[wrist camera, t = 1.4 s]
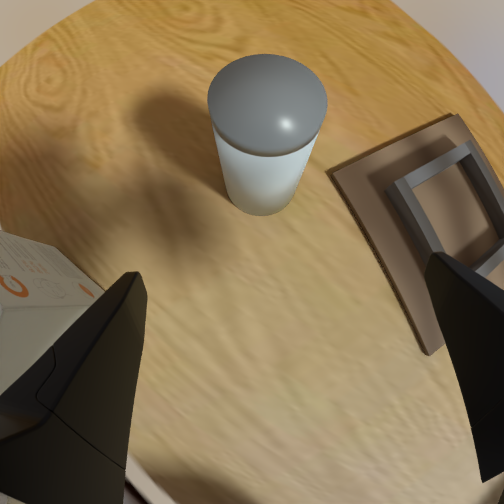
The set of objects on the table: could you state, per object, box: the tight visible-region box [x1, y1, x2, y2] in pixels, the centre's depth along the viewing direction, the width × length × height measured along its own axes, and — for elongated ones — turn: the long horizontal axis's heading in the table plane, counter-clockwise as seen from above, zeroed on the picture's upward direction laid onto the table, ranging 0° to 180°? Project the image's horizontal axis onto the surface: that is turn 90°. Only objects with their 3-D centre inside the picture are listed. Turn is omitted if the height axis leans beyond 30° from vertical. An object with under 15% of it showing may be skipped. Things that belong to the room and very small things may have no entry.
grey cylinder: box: [207, 54, 327, 216], centre depth 18 cm, size 5×5×11 cm
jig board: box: [331, 114, 504, 356], centre depth 22 cm, size 16×16×3 cm
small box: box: [0, 230, 105, 395], centre depth 16 cm, size 8×6×13 cm
